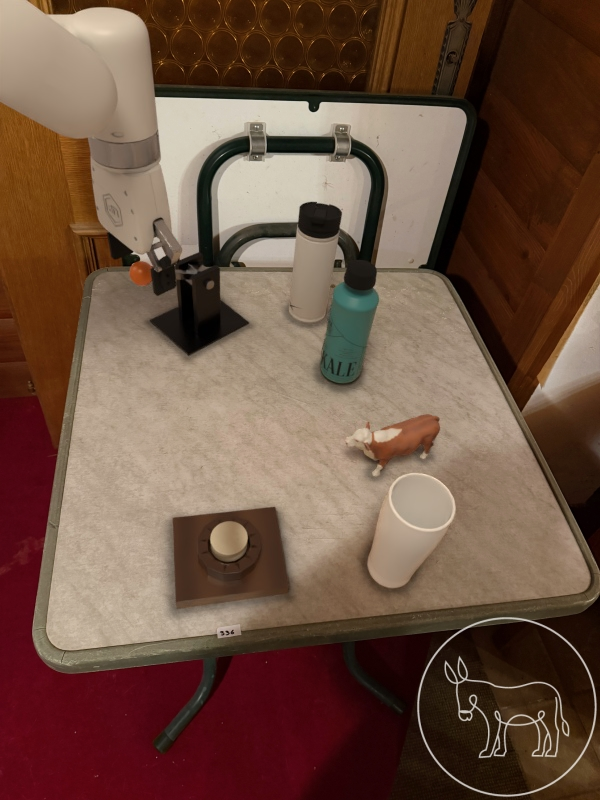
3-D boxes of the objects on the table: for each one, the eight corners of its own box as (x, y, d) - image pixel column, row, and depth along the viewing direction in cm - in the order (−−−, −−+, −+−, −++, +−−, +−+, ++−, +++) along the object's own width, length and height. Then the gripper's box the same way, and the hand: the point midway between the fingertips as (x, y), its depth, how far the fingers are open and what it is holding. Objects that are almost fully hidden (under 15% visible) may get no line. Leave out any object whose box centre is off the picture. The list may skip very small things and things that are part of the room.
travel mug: (284, 325, 92) (295, 214, 77) (291, 300, 96) (303, 192, 82) (321, 332, 92) (340, 222, 77) (327, 307, 96) (345, 199, 81)
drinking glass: (350, 552, 66) (375, 482, 55) (399, 534, 68) (433, 463, 57) (377, 605, 62) (410, 541, 51) (428, 584, 64) (470, 518, 53)
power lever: (135, 290, 73) (141, 267, 72) (121, 278, 75) (127, 256, 73) (208, 290, 84) (215, 270, 82) (194, 279, 85) (201, 260, 83)
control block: (177, 610, 60) (174, 595, 57) (173, 526, 66) (171, 509, 63) (287, 595, 62) (290, 579, 59) (274, 515, 68) (276, 498, 65)
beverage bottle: (350, 358, 88) (375, 249, 74) (366, 388, 84) (396, 279, 69) (311, 364, 87) (329, 253, 72) (325, 395, 83) (347, 285, 68)
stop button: (212, 564, 60) (211, 557, 58) (209, 530, 62) (208, 523, 61) (249, 559, 60) (249, 552, 59) (245, 526, 63) (245, 519, 62)
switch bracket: (188, 360, 85) (184, 298, 76) (150, 325, 89) (141, 262, 80) (248, 327, 91) (251, 266, 82) (210, 297, 95) (208, 235, 86)
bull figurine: (335, 461, 75) (344, 422, 69) (421, 438, 79) (437, 399, 73) (348, 487, 72) (359, 450, 66) (437, 462, 76) (455, 424, 70)
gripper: (53, 123, 64) (83, 252, 76) (140, 187, 56) (157, 317, 69) (111, 109, 67) (131, 233, 80) (200, 167, 60) (206, 294, 73)
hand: (143, 272), depth 75 cm, fingers open, 9 cm apart
